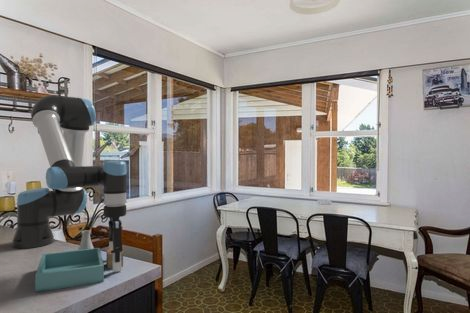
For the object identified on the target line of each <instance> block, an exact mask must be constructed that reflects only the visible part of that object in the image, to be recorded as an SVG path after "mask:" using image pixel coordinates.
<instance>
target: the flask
mask: <svg viewBox="0 0 470 313" xmlns="http://www.w3.org/2000/svg"><path fill="white" fill-rule="evenodd" d="M91 233H92V231H91V230H90V229H89V230H88V229H87V230H82V231H81V232H80V234H81V240H80V243H79V246H78V249H77V250H83V249H91V248H95V247H94V245H93V243H92V240H91Z"/></svg>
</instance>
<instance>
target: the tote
mask: <svg viewBox="0 0 470 313" xmlns="http://www.w3.org/2000/svg"><path fill="white" fill-rule="evenodd" d="M104 268H105V266H104V260H103V256H102V251H101V248H100V247H94V248H91V249H83V250H78V249H75V250H67V251H59V252H58V251H57V252H50V253H48V252H47V253H43V254H42V255H41V257H40V260H39V263H38V266H37V269H36V271H35V276H34V278H35V279H34V280H35V281H34V285H35V286H34V289H35V290H34V291H35V293H41V292H47V291H52V290H54V291H55V290H61V289H66V288H71V287H78V286H84V285H90V284H96V283H103V282H104V280H105V278H104V277H105V272H104V271H105V270H104Z"/></svg>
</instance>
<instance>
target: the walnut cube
mask: <svg viewBox="0 0 470 313" xmlns="http://www.w3.org/2000/svg"><path fill="white" fill-rule="evenodd" d="M111 251H112V250H109V249H106V267H107V269H113V253H111ZM122 267H124V251H123V250H122V252H121V268H122Z"/></svg>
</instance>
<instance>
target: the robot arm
mask: <svg viewBox="0 0 470 313" xmlns="http://www.w3.org/2000/svg"><path fill="white" fill-rule="evenodd" d="M30 116H31V117H30V118H31V121H32V124H33V125H34V127H35V128H37V130H38V133H39V136H40V139H41V142H42V146H43V148H44V152H45V154H46V158H47V160H48V164H49V167H48V168H47V169H46V173H45V180H46V181H45V183H46V186H47V187H41V188H39V187H37V188H32V189H27V190H23V191H21V192H20V193H19V194H17V199H16V208H17V210H16V213H17V214H16V217H17V219H16V221H17V222H16V224H17V225H16V229H15V231H14V235H13V238H12V241H11V247H12V248H15V249H31V248H32V249H33V248H38V247H42V246H43V247H45V246H47V245H50V244H52V243H53V242H54V240H55V238H54V234H53V231H52V228H51V225H50V218H53V217H60V216H61V217H62V216H71V215H78V214H80V213H82V212H84V210H85V208H86V206H87V203H88V197H87V195H88V194H87V190H86V189H85V188H92V187H93V188H94V187H95V188H96V187H103V195H101V199H102V200H103V216H104V217H105V218H108V219H109V220H108V250H112V251H111V253H113V268H112V273H115V272H122V267H121V252H122V251H123V242H122V240H123V239H122V225H123V224H122V220H121V219H120V217H125V216H126V215H127V205H126V203H127V173H128V171H127V164H126V162H125V161H123V160H122V161H121V160H120V161H118V160H106V161H104V162H103V165H102V164H101V165H99V164H97V165H89V166H88V165H87V166H83V155H84V147H85V146H84V145H85V138H86V137H85V136H86V133H87V132H88V131H90V127H92V126H94V125H95V122H96V118H97V117H96V116H97V115H96V109H95V106H94V103H93V101H91V100H89V99H86V98H82V97H75V96H74V97H73V96H63V95H58V94H57V95H56V94H50V95H46V96H43V97H40V98H39V99H38V100H37V101H36V102H35V103H34V105H33V106H32V109H31V113H30ZM50 189H51V190H50Z"/></svg>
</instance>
